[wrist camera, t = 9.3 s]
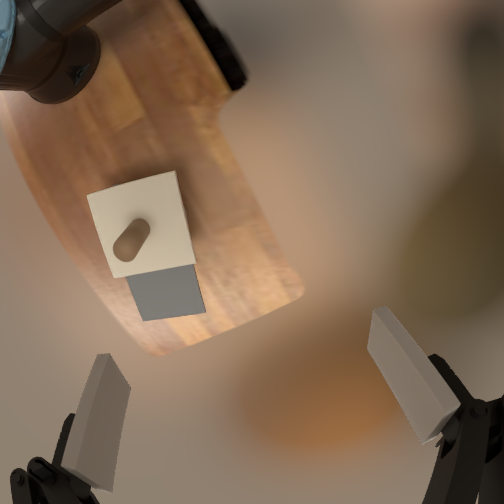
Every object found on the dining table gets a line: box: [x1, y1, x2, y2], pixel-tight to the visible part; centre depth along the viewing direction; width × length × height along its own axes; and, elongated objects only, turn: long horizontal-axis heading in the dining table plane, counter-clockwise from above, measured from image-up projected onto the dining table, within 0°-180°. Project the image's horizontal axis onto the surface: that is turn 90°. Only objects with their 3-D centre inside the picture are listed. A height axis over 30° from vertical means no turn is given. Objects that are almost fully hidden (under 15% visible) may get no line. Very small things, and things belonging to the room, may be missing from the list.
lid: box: [87, 170, 197, 278], centre depth 33 cm, size 13×13×8 cm
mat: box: [126, 264, 206, 321], centre depth 49 cm, size 13×13×1 cm
